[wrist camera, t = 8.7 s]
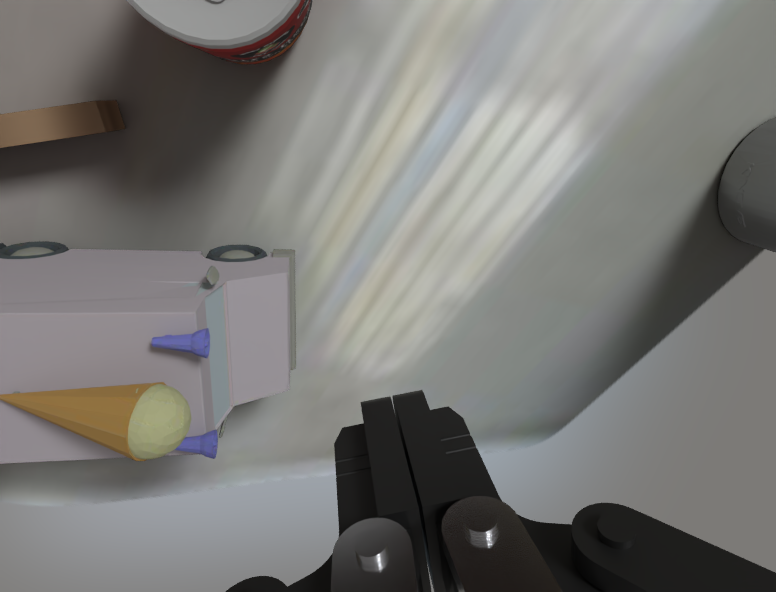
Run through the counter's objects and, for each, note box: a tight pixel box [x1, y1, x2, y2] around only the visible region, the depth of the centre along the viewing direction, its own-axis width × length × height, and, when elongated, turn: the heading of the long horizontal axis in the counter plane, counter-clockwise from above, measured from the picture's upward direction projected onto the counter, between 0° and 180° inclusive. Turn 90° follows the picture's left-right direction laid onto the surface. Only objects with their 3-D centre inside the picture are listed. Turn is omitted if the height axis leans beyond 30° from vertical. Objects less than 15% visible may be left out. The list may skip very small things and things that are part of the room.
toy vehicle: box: [0, 242, 296, 464], centre depth 25 cm, size 9×20×15 cm, turn 87°
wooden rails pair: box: [0, 100, 125, 148], centre depth 28 cm, size 14×18×6 cm
